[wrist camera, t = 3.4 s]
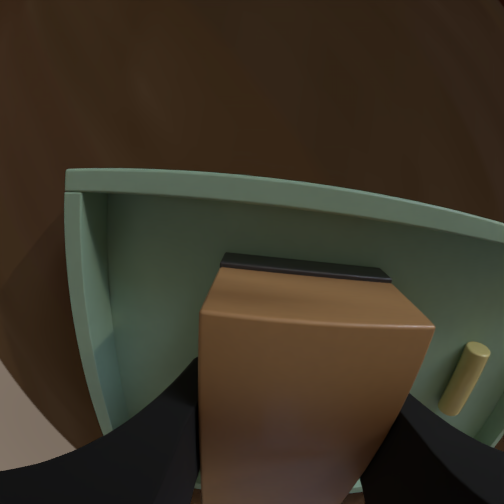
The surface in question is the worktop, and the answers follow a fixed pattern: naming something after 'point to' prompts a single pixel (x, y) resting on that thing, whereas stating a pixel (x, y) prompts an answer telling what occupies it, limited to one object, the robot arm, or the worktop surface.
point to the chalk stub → (464, 378)
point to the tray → (272, 245)
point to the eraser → (300, 377)
